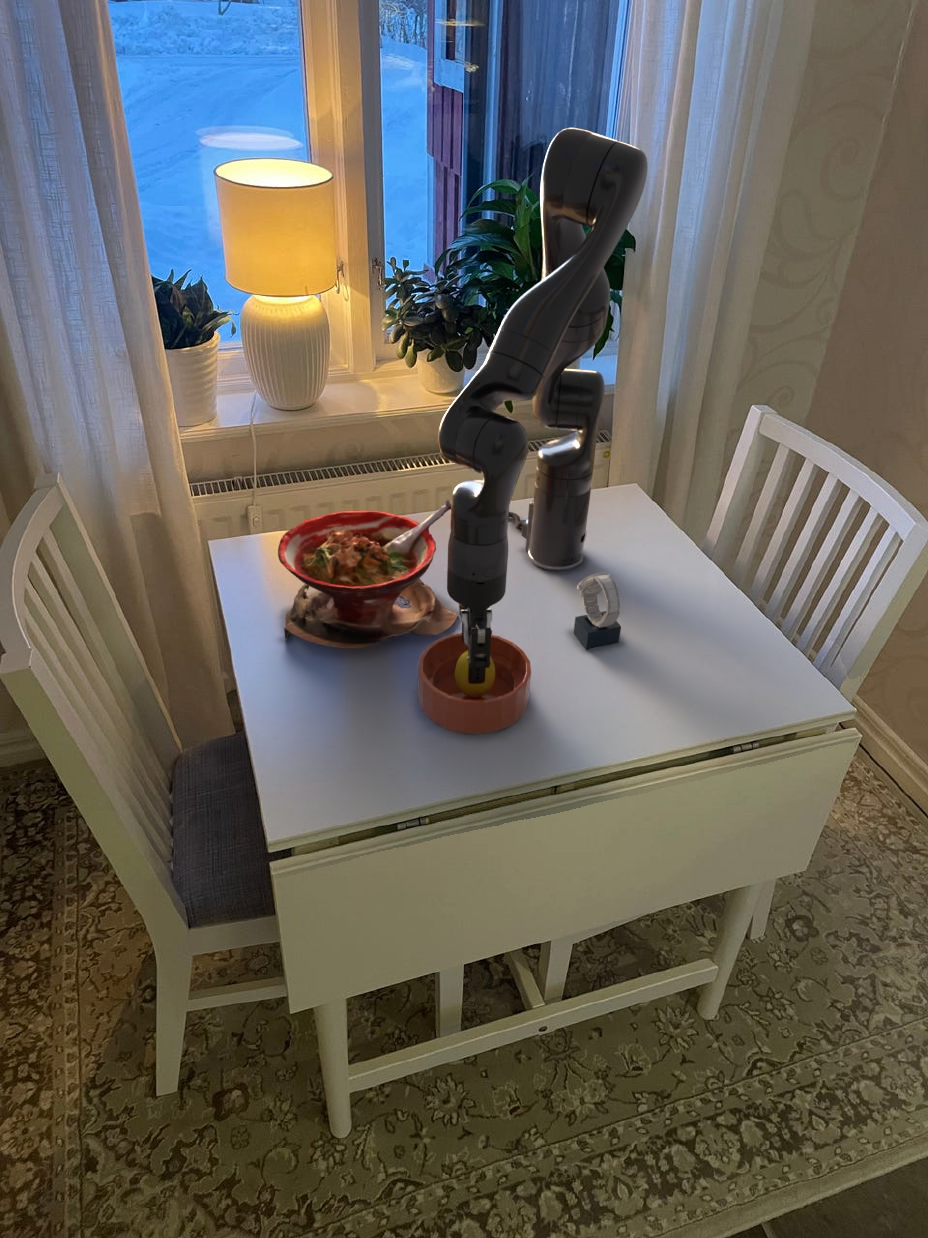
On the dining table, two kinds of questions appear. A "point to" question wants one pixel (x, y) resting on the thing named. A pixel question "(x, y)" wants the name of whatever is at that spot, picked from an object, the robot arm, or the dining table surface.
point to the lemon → (462, 678)
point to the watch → (598, 612)
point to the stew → (362, 578)
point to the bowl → (464, 711)
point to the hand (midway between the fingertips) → (472, 661)
